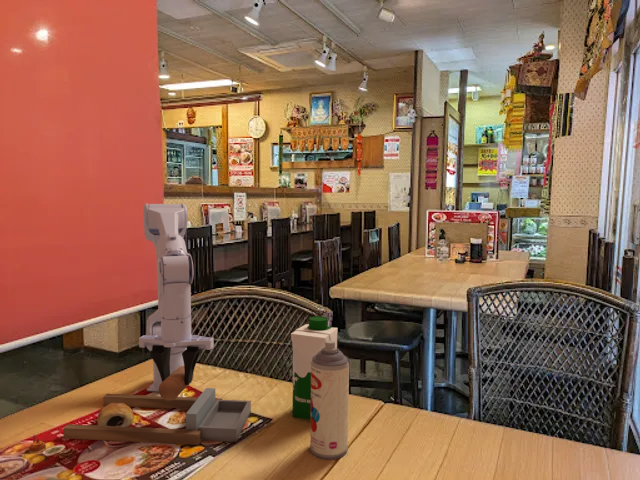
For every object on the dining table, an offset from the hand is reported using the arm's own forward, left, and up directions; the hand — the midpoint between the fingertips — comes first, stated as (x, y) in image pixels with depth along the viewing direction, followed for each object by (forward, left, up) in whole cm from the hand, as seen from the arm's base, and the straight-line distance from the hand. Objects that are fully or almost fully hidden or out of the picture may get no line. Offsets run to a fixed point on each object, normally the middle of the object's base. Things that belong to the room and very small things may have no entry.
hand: (177, 382), depth 93 cm
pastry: (+1, -13, -9) cm, 16 cm away
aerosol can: (+7, +31, -9) cm, 33 cm away
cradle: (0, +10, -8) cm, 13 cm away
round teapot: (+12, -21, -9) cm, 26 cm away
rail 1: (-7, -6, -8) cm, 13 cm away
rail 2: (+7, -6, -8) cm, 12 cm away
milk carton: (-7, +27, -9) cm, 29 cm away
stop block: (0, +5, -8) cm, 10 cm away
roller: (0, 0, -2) cm, 2 cm away
